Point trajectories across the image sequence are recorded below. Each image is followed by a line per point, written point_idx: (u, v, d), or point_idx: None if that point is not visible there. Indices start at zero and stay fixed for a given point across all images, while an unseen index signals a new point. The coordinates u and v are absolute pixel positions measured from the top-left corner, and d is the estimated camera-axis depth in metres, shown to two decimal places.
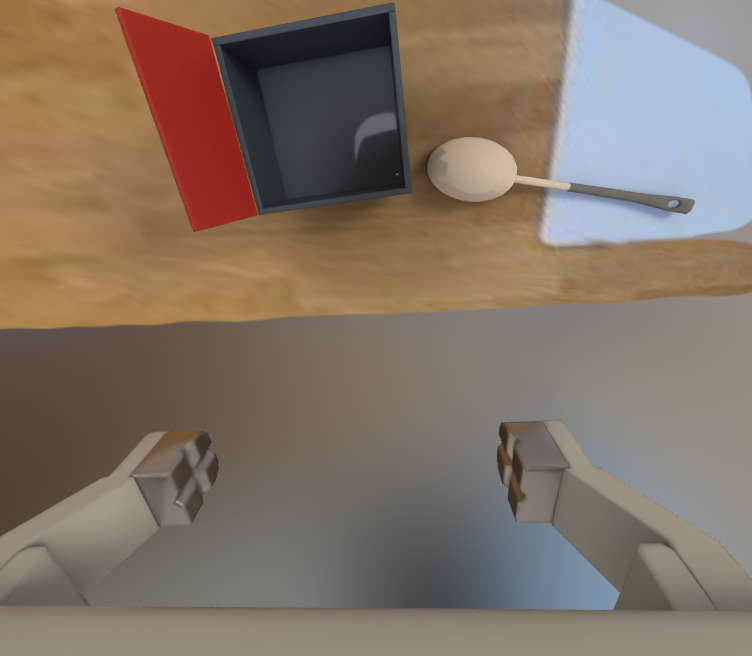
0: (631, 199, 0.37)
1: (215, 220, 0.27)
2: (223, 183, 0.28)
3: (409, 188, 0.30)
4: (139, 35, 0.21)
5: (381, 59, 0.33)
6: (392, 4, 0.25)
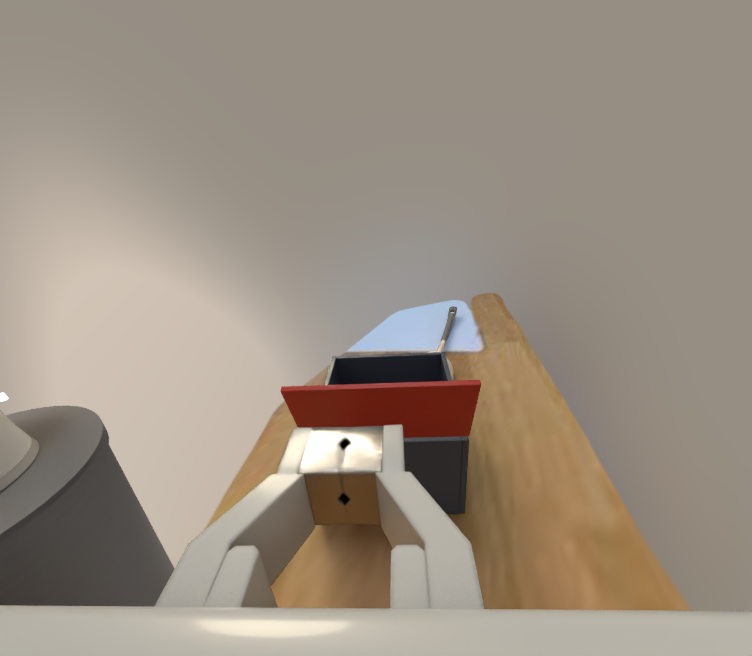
0: (450, 322, 0.64)
1: None
2: None
3: (441, 352, 0.40)
4: None
5: None
6: (332, 357, 0.41)
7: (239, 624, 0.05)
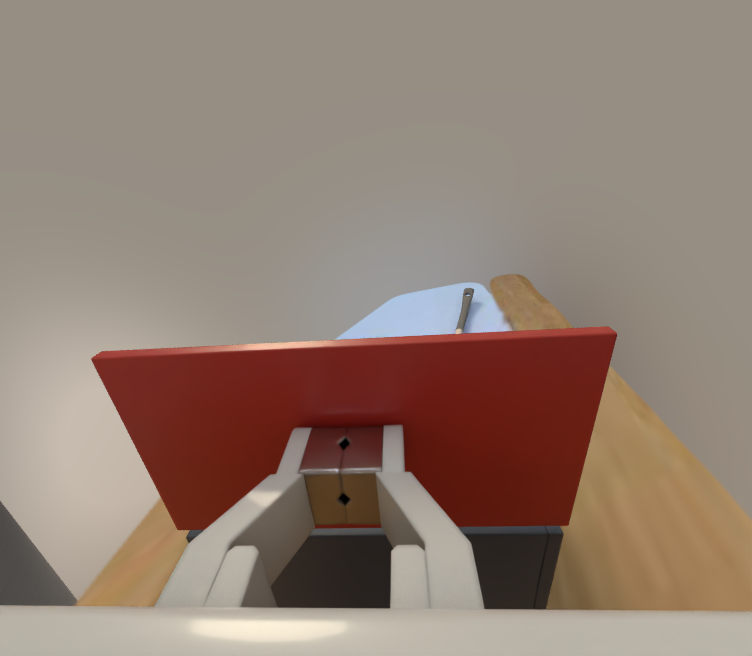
0: (466, 307, 0.48)
1: None
2: None
3: None
4: None
5: None
6: None
7: (239, 624, 0.05)
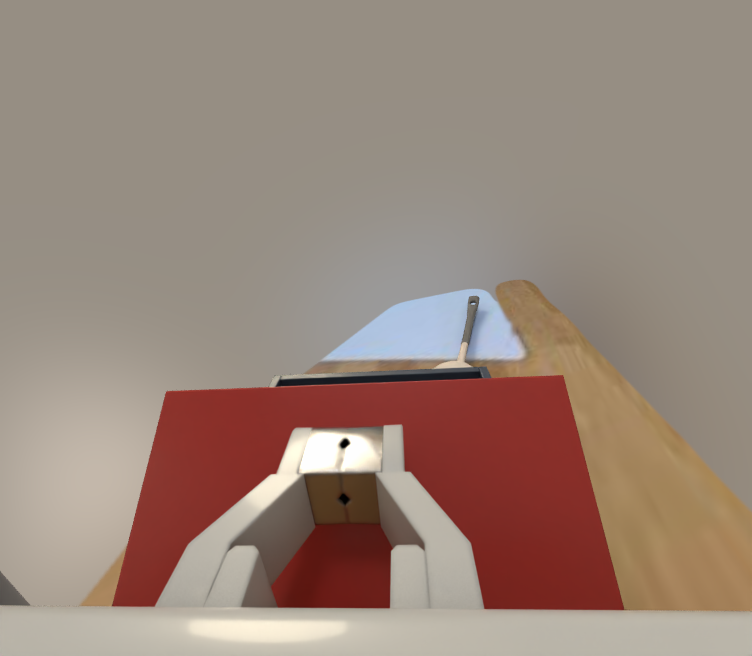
0: (472, 317, 0.45)
1: None
2: None
3: (480, 367, 0.21)
4: None
5: None
6: (275, 377, 0.22)
7: (239, 624, 0.05)
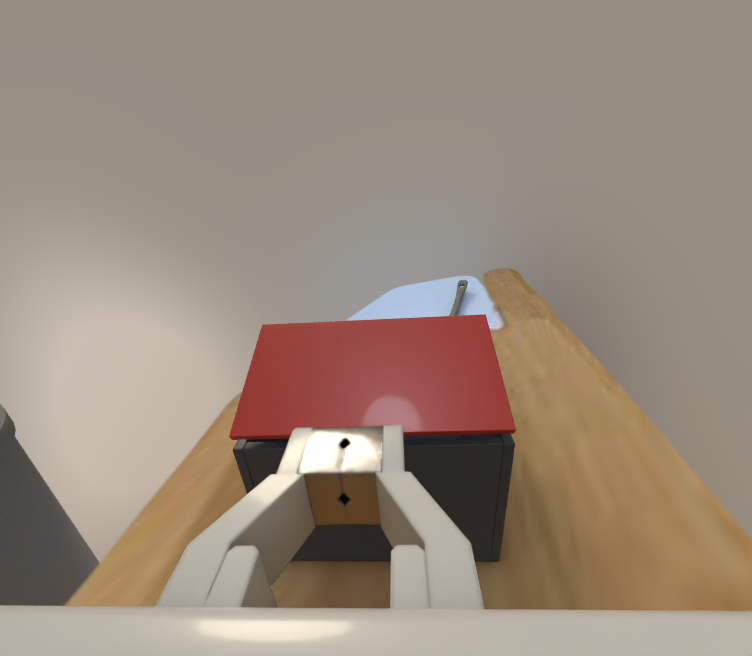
0: (460, 297, 0.52)
1: None
2: None
3: None
4: None
5: None
6: None
7: (239, 624, 0.05)
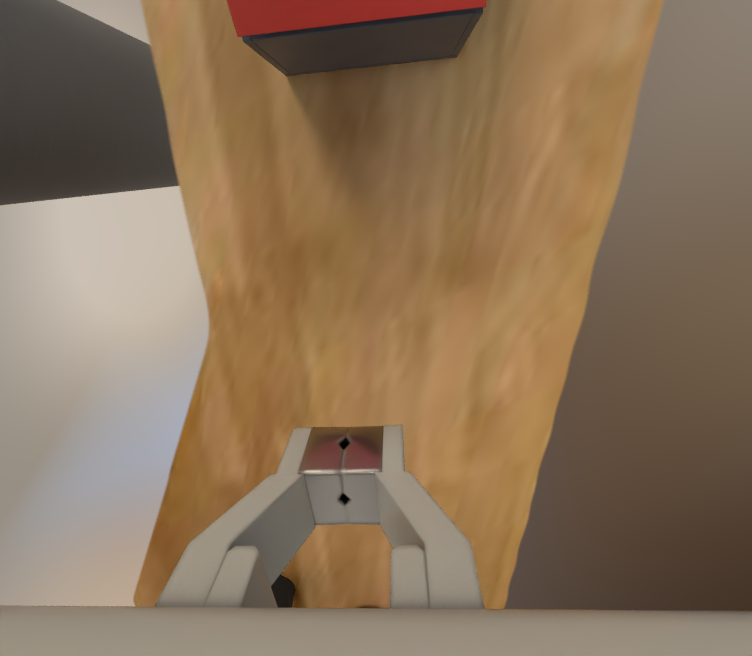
0: None
1: None
2: None
3: None
4: None
5: None
6: None
7: (239, 624, 0.05)
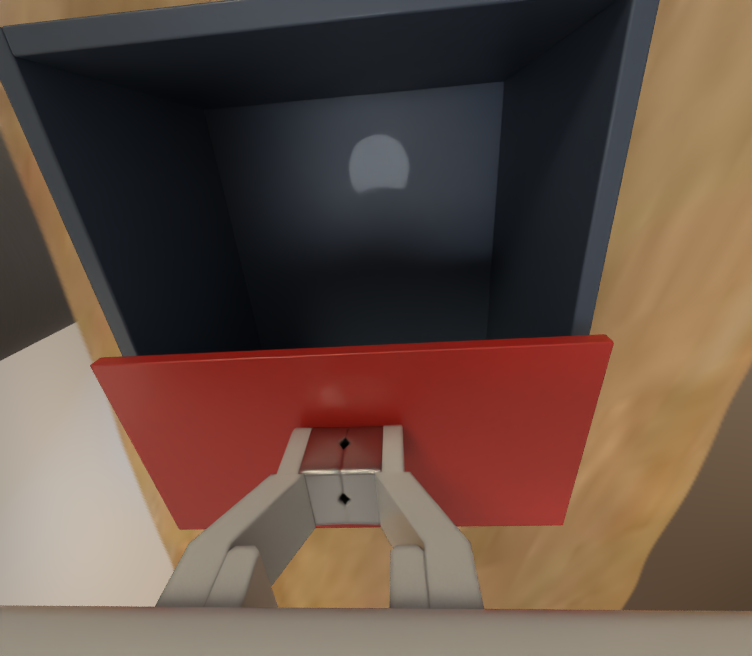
0: None
1: None
2: None
3: None
4: None
5: (232, 132, 0.15)
6: None
7: (239, 624, 0.05)
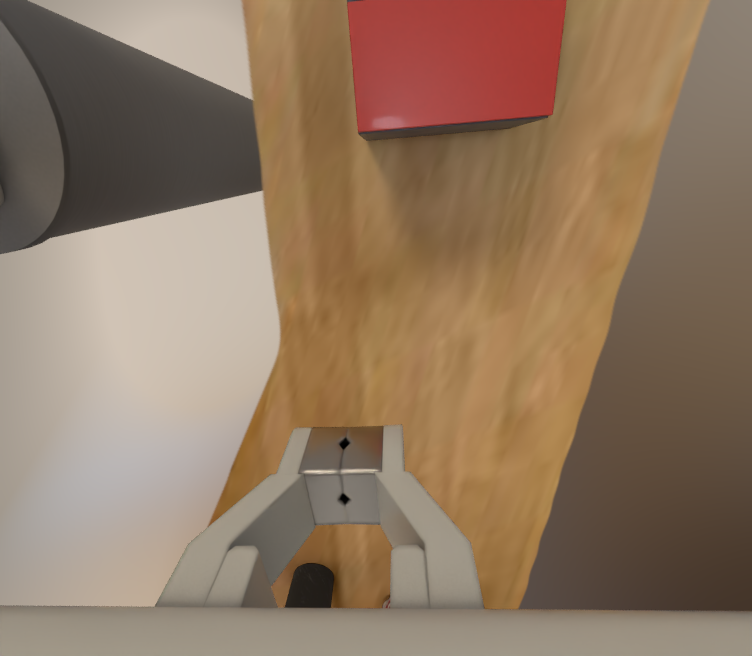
0: None
1: None
2: None
3: None
4: None
5: None
6: None
7: (239, 624, 0.05)
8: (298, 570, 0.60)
